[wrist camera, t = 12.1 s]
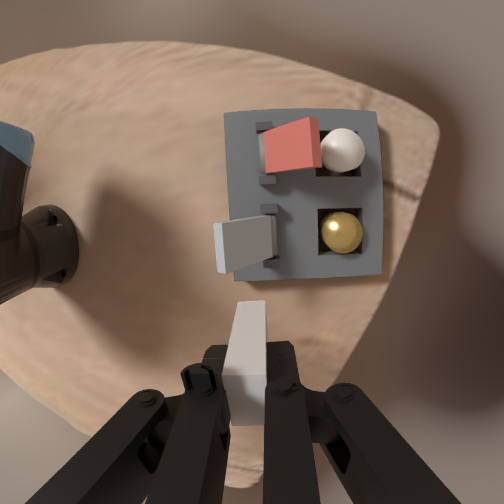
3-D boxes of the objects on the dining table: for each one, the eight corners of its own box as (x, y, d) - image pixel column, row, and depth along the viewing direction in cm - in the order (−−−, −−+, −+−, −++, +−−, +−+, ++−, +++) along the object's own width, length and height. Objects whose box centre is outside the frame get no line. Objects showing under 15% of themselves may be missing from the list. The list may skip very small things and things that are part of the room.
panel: (237, 274, 39) (232, 286, 34) (227, 118, 35) (220, 108, 30) (374, 268, 38) (386, 278, 33) (368, 117, 33) (381, 107, 28)
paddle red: (257, 174, 32) (311, 166, 25) (255, 134, 31) (307, 116, 24) (268, 174, 33) (323, 167, 25) (266, 135, 32) (319, 118, 24)
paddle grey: (269, 253, 35) (216, 271, 28) (268, 214, 34) (211, 223, 27) (280, 254, 34) (227, 274, 27) (278, 214, 33) (223, 223, 26)
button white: (319, 172, 33) (324, 170, 29) (316, 134, 32) (321, 127, 28) (357, 172, 32) (366, 170, 29) (354, 134, 31) (362, 129, 28)
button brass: (319, 248, 37) (324, 254, 33) (318, 211, 36) (323, 213, 32) (354, 247, 36) (362, 252, 33) (354, 210, 35) (362, 212, 32)
